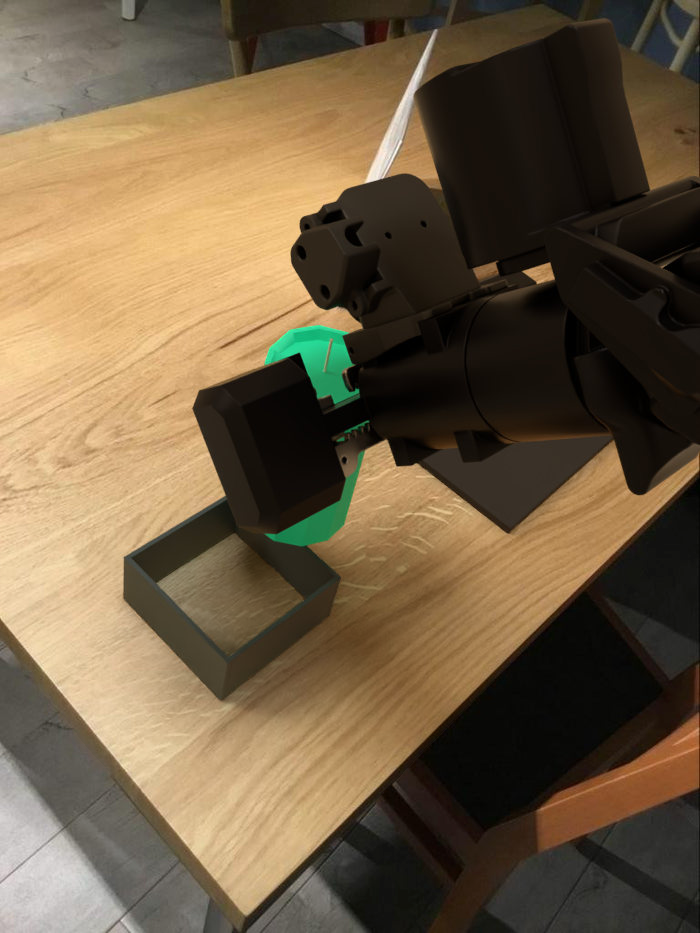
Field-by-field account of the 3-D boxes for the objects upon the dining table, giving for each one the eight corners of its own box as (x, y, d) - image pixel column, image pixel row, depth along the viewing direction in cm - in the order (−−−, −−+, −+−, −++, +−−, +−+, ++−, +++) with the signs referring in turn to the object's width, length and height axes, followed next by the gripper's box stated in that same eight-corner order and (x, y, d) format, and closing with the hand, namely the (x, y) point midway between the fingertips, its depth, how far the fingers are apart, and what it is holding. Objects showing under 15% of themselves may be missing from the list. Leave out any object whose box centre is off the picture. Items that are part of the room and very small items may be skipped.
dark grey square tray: (329, 615, 53) (342, 577, 50) (220, 701, 48) (227, 663, 45) (234, 527, 56) (241, 485, 53) (122, 598, 51) (123, 556, 48)
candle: (306, 453, 53) (341, 289, 44) (368, 519, 50) (419, 358, 42) (222, 489, 50) (243, 320, 41) (284, 562, 47) (319, 397, 38)
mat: (642, 413, 72) (645, 408, 72) (508, 533, 60) (510, 528, 60) (455, 288, 79) (457, 282, 79) (302, 373, 67) (303, 367, 67)
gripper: (604, 115, 37) (377, 215, 49) (246, 212, 26) (74, 307, 39) (672, 366, 39) (437, 401, 52) (365, 546, 29) (166, 534, 41)
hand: (297, 405), depth 46 cm, fingers closed on candle, 5 cm apart
